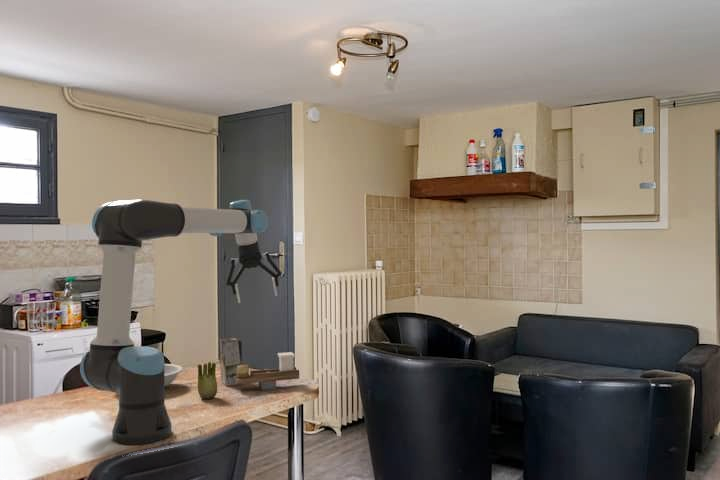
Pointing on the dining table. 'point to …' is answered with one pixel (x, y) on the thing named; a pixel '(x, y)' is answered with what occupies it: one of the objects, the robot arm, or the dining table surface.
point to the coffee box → (230, 359)
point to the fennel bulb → (207, 381)
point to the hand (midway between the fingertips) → (257, 298)
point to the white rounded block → (286, 361)
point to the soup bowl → (171, 373)
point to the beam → (264, 376)
